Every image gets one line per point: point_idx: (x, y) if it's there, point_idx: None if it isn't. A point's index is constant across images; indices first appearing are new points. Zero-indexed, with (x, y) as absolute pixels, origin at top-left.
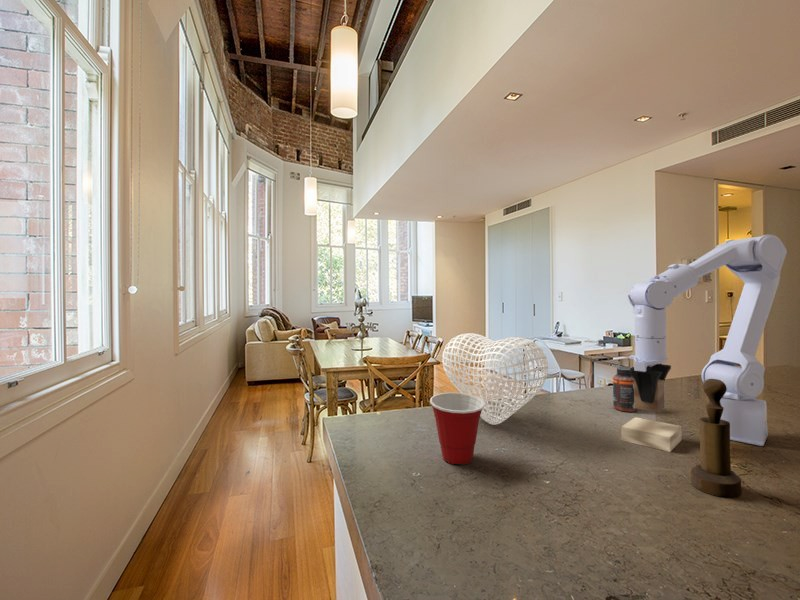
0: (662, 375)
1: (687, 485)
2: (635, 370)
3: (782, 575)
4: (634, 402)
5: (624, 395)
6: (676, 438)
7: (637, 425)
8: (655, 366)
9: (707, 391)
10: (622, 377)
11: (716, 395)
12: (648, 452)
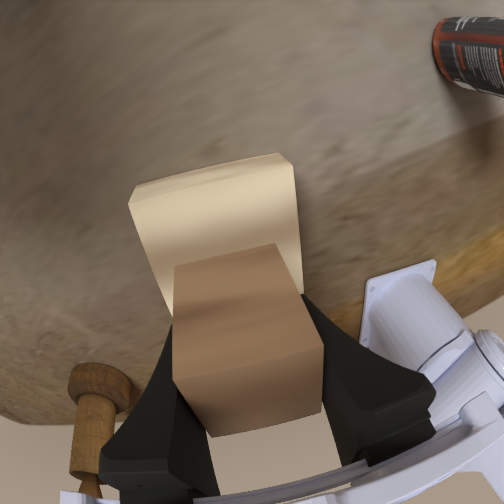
0: (332, 426)
1: (67, 363)
2: (63, 492)
3: (27, 422)
4: (174, 283)
5: (475, 59)
6: None
7: (193, 225)
8: (351, 456)
9: None
10: None
11: None
12: (123, 273)
